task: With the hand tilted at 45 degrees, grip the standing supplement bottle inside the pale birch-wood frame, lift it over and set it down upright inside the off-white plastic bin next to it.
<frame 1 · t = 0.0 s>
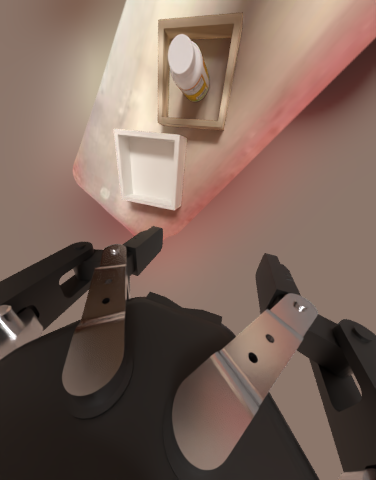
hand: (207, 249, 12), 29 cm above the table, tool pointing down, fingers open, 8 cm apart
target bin: (155, 171, 40), on the table
supplement bottle: (196, 85, 30), resting in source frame
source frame: (196, 84, 30), on the table
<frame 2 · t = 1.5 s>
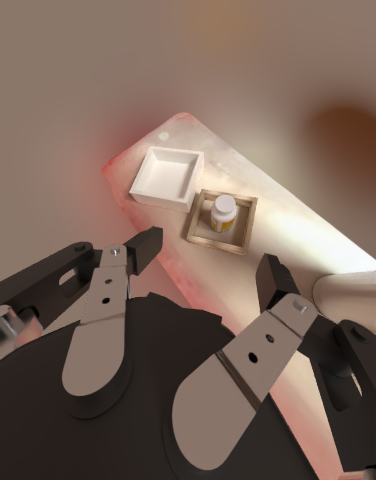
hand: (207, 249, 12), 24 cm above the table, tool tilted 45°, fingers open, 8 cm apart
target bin: (171, 184, 44), on the table
supplement bottle: (221, 223, 38), resting in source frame
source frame: (221, 223, 38), on the table
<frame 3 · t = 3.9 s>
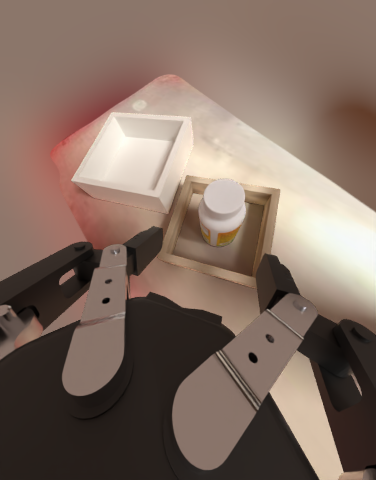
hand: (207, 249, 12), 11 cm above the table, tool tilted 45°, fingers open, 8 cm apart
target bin: (144, 170, 29), on the table
supplement bottle: (218, 231, 24), resting in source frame
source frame: (218, 230, 23), on the table
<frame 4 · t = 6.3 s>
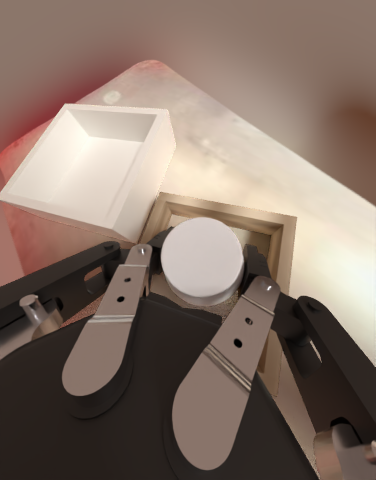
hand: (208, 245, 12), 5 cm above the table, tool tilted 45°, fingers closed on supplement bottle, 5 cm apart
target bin: (110, 181, 22), on the table
supplement bottle: (205, 272, 16), resting in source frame, touching gripper
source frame: (205, 272, 16), on the table
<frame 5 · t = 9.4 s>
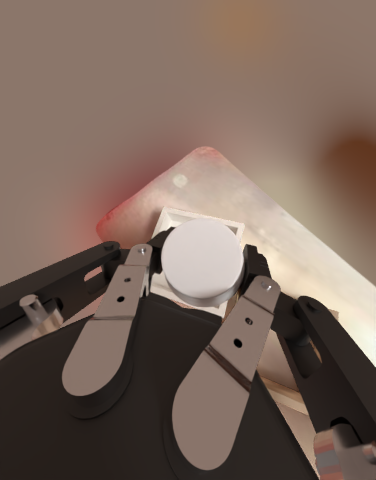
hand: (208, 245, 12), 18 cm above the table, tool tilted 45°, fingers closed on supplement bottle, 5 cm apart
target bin: (192, 259, 31), on the table
supplement bottle: (205, 273, 16), point 14 cm above the table, touching gripper
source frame: (273, 337, 25), on the table
when the fingers open (7 cm above the table, at t = 12.5 s): supplement bottle drops 1 cm, resting on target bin.
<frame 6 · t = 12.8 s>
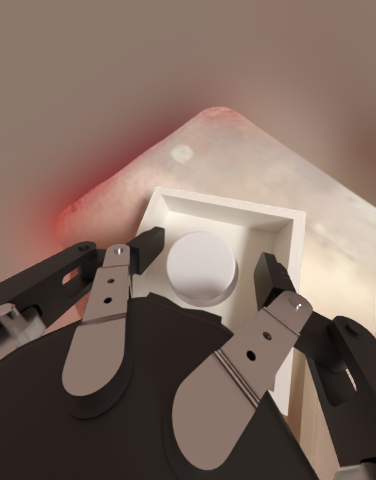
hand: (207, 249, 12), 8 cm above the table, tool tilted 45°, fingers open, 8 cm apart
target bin: (205, 274, 19), on the table
supplement bottle: (204, 275, 18), point 1 cm above the table, touching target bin
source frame: (370, 433, 13), on the table
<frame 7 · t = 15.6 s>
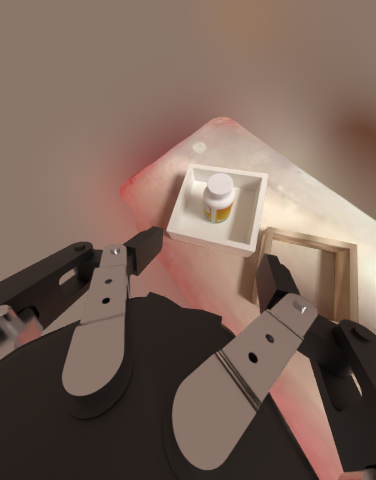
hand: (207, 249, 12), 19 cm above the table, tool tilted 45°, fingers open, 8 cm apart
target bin: (216, 214, 33), on the table
supplement bottle: (216, 213, 32), point 1 cm above the table, touching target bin
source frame: (296, 275, 27), on the table
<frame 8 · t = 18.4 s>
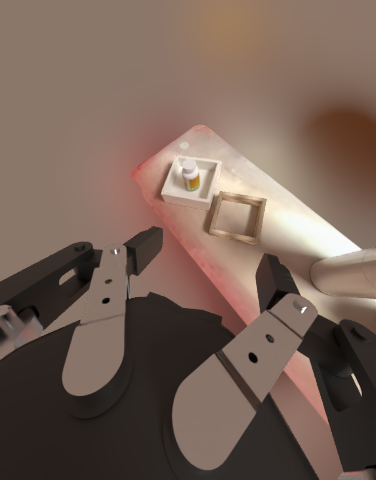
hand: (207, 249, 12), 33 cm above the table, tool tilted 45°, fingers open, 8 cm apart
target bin: (192, 187, 53), on the table
supplement bottle: (192, 186, 52), point 1 cm above the table, touching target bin
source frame: (236, 219, 47), on the table
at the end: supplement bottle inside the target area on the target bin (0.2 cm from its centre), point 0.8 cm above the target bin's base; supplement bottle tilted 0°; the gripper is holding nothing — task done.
